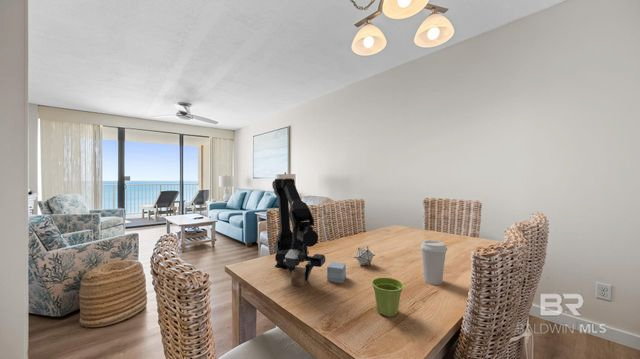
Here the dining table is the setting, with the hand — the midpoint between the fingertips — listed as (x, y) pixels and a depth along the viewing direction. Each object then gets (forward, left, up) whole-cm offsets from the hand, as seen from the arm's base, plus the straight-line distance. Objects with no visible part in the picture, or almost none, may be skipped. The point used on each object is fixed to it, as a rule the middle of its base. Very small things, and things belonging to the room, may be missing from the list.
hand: (300, 280), depth 97 cm
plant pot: (+33, -9, -1) cm, 34 cm away
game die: (+20, +27, -1) cm, 34 cm away
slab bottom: (+12, +8, -2) cm, 15 cm away
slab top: (+12, +8, +2) cm, 15 cm away
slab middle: (+12, +8, 0) cm, 15 cm away
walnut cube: (0, 0, -1) cm, 1 cm away
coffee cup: (+48, +19, -1) cm, 52 cm away
